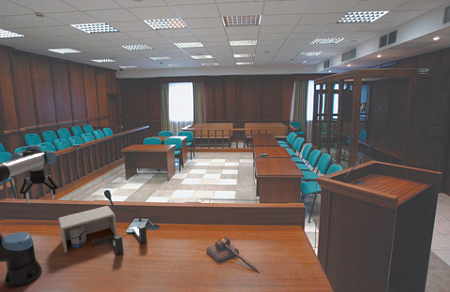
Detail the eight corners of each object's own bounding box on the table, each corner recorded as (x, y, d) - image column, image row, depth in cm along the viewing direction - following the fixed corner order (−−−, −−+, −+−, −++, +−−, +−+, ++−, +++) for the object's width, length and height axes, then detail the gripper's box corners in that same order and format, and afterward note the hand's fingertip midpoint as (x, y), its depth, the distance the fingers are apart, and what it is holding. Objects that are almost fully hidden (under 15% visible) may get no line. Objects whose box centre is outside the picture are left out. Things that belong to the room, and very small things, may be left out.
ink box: (79, 247, 159) (77, 230, 157) (71, 247, 160) (69, 230, 157) (86, 240, 168) (84, 223, 166) (79, 240, 168) (77, 223, 166)
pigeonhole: (117, 236, 172) (115, 213, 169) (64, 252, 154) (61, 228, 151) (111, 226, 185) (108, 205, 182) (62, 240, 168) (58, 217, 164)
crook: (123, 253, 152) (122, 237, 150) (100, 262, 145) (98, 244, 143) (114, 238, 170) (112, 222, 167) (93, 245, 162) (91, 229, 160)
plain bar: (146, 242, 164) (145, 226, 162) (141, 244, 162) (140, 228, 160) (136, 230, 180) (135, 215, 178) (131, 231, 178) (130, 216, 176)
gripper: (60, 165, 171) (64, 196, 175) (14, 170, 161) (19, 202, 165) (58, 168, 164) (62, 199, 168) (9, 173, 154) (15, 206, 158)
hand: (41, 201), depth 166 cm, fingers open, 13 cm apart
